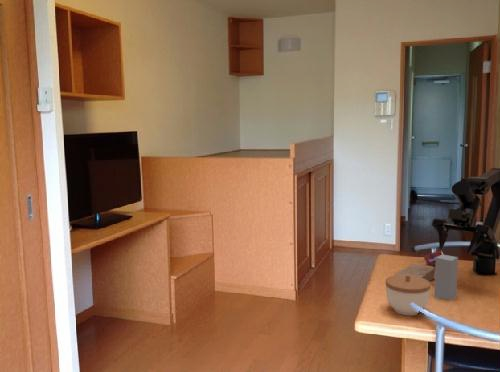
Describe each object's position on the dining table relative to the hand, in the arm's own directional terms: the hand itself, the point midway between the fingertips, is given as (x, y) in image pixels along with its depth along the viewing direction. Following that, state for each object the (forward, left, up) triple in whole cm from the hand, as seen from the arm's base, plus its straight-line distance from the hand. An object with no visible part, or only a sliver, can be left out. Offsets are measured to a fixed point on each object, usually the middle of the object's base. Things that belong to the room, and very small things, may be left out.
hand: (453, 251), depth 155 cm
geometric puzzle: (-2, -27, -14) cm, 30 cm away
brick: (+10, -8, -14) cm, 19 cm away
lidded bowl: (+19, +18, -14) cm, 30 cm away
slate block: (+4, +6, -13) cm, 15 cm away
